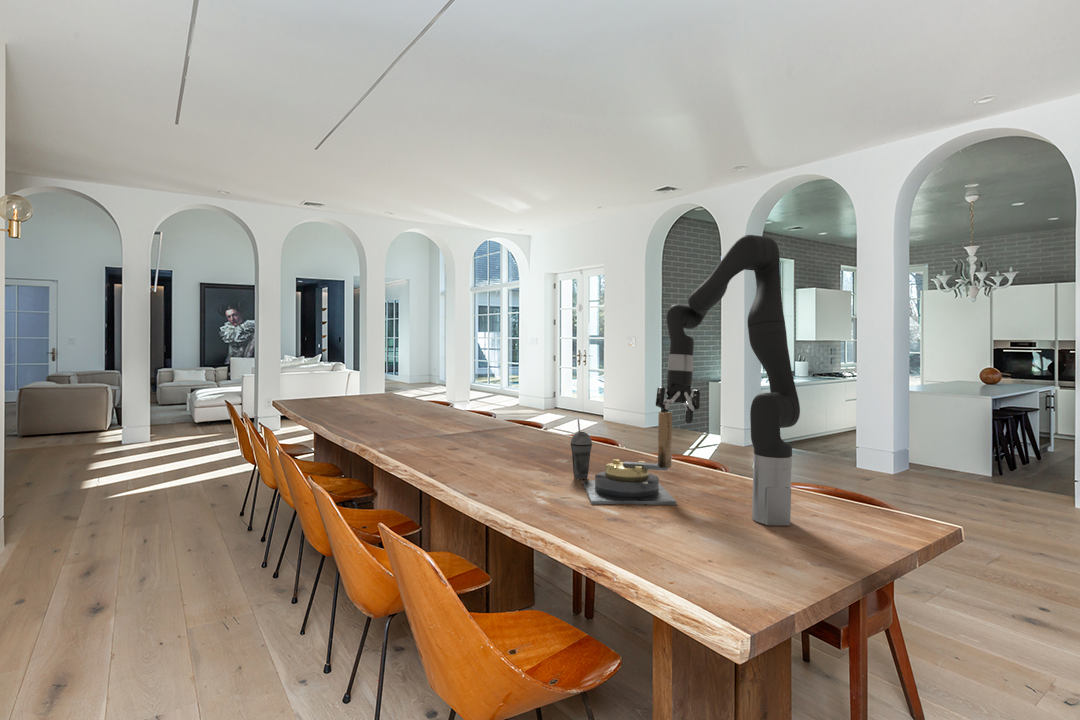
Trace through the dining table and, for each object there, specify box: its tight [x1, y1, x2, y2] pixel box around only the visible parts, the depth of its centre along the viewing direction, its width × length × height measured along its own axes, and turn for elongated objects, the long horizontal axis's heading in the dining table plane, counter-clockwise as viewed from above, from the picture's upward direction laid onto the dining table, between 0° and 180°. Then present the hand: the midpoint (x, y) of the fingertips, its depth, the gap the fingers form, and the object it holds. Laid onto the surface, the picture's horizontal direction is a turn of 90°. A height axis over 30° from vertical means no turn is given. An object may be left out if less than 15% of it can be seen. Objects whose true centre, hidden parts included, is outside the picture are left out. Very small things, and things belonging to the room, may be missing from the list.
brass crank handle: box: [604, 411, 673, 482], centre depth 176 cm, size 20×13×20 cm, turn 74°
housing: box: [582, 470, 677, 506], centre depth 178 cm, size 24×24×5 cm
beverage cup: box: [570, 418, 593, 481], centre depth 196 cm, size 7×7×20 cm
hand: (676, 422), depth 181 cm, fingers open, 8 cm apart
